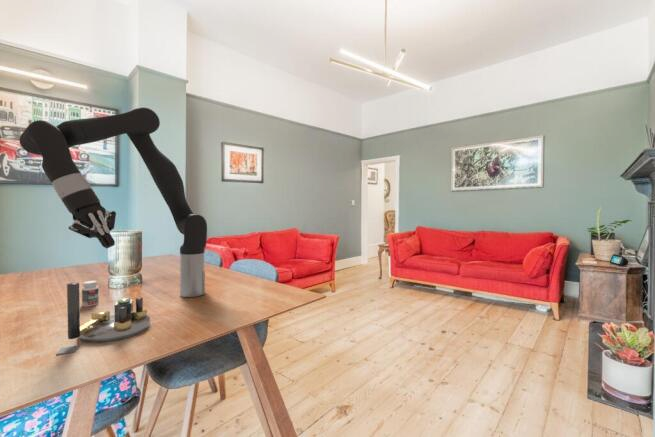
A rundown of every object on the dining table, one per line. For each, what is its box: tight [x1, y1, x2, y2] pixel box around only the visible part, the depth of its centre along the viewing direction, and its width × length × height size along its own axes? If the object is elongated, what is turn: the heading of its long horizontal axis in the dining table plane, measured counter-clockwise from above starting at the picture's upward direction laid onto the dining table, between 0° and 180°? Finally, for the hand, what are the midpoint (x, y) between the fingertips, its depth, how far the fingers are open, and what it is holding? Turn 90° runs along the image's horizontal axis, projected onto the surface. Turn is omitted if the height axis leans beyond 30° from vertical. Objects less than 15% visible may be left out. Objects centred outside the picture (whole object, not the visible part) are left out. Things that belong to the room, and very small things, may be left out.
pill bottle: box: [81, 280, 100, 308], centre depth 109 cm, size 5×5×8 cm
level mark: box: [55, 344, 80, 356], centre depth 75 cm, size 4×4×1 cm
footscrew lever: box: [66, 282, 111, 340], centre depth 84 cm, size 15×4×14 cm, turn 10°
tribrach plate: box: [78, 297, 151, 344], centre depth 88 cm, size 17×17×9 cm
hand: (110, 246), depth 87 cm, fingers closed
